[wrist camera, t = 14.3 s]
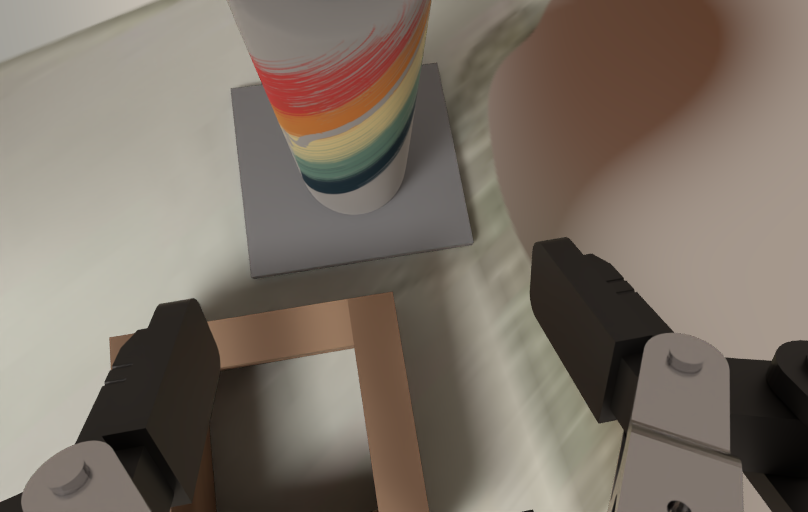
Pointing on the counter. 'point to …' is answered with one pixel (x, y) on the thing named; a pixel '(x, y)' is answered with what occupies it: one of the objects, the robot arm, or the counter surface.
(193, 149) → the counter surface
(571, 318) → the robot arm
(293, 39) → the lotion bottle
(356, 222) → the rubber mat
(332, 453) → the counter surface
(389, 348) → the bottle holder
